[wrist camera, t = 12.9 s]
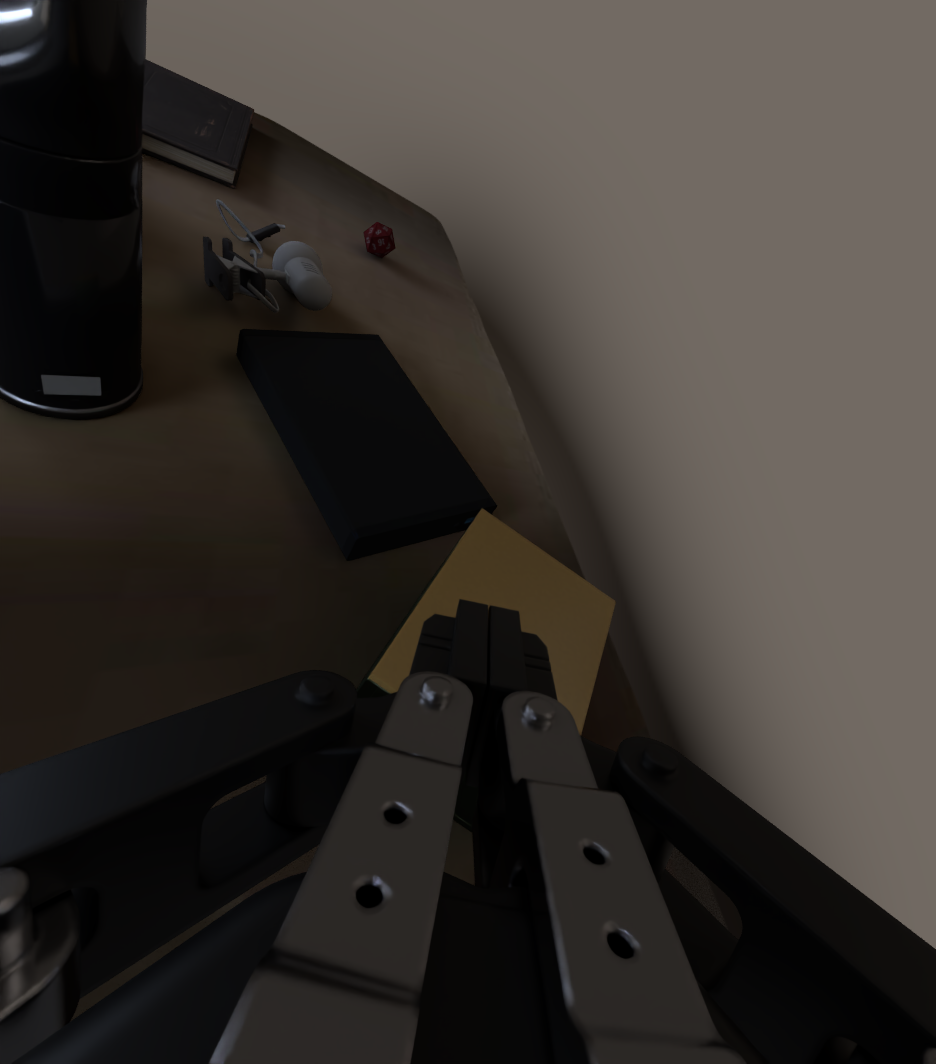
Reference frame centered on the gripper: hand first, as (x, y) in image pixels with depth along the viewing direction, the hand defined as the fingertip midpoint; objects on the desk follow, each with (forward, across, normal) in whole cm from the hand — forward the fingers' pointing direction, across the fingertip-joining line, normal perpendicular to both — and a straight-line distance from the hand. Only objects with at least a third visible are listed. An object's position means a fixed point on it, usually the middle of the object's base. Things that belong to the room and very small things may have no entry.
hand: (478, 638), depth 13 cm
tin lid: (+17, -3, +8) cm, 19 cm away
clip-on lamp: (+49, +28, -10) cm, 58 cm away
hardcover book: (+68, +48, -28) cm, 88 cm away
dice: (+68, +20, -18) cm, 73 cm away
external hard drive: (+36, +12, +2) cm, 38 cm away
